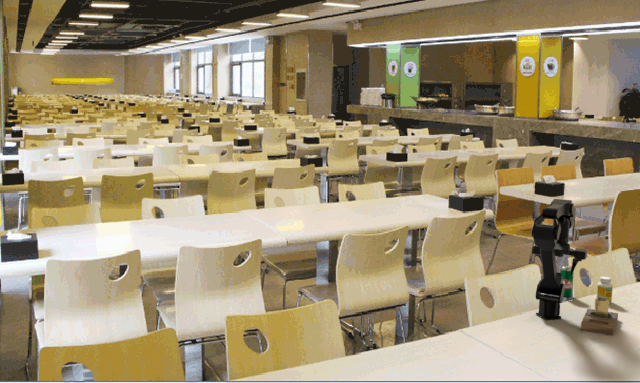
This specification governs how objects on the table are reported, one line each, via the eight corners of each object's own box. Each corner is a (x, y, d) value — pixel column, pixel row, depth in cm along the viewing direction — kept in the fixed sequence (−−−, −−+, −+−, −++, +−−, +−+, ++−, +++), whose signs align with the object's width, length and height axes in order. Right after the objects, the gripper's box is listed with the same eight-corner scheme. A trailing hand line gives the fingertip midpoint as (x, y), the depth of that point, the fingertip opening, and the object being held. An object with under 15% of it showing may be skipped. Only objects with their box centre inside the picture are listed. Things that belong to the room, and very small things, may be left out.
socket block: (613, 335, 213) (613, 328, 213) (580, 330, 218) (581, 322, 218) (617, 319, 229) (618, 313, 228) (587, 315, 234) (587, 308, 233)
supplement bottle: (601, 299, 253) (603, 275, 252) (614, 302, 249) (616, 278, 248) (593, 301, 251) (595, 277, 249) (606, 304, 246) (607, 280, 245)
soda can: (558, 297, 255) (560, 267, 254) (558, 293, 260) (560, 264, 258) (572, 298, 253) (573, 269, 252) (572, 295, 258) (574, 266, 256)
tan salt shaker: (599, 324, 224) (601, 299, 223) (591, 320, 228) (592, 296, 227) (610, 323, 225) (611, 298, 224) (601, 319, 229) (603, 295, 228)
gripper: (530, 234, 235) (527, 275, 238) (584, 239, 226) (581, 282, 228) (536, 229, 245) (533, 268, 247) (588, 234, 236) (585, 275, 238)
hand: (558, 274), depth 240 cm, fingers open, 9 cm apart
